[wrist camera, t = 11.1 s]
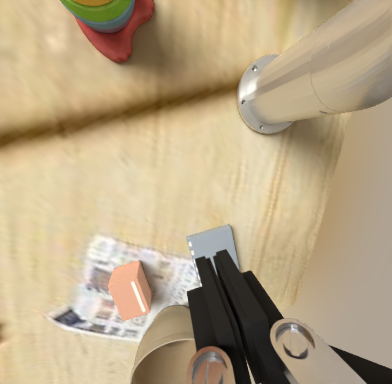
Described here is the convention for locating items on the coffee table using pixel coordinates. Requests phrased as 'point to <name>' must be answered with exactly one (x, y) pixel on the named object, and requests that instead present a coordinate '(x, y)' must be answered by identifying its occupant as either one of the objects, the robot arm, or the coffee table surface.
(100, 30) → the stacking bear
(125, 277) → the peach rectangular block
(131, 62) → the coffee table surface
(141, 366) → the planter bowl
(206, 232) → the board
